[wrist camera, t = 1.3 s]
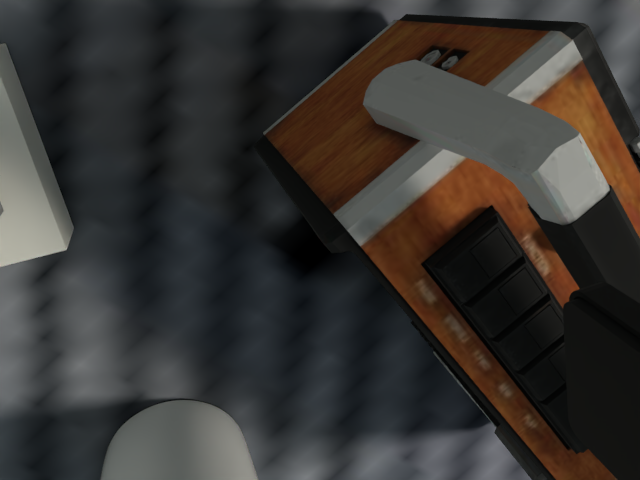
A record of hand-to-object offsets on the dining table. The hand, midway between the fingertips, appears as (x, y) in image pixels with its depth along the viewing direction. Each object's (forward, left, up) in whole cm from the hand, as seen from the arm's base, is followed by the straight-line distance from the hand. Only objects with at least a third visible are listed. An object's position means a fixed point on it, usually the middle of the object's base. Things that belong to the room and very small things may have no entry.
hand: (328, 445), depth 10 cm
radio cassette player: (+9, +13, -23) cm, 28 cm away
